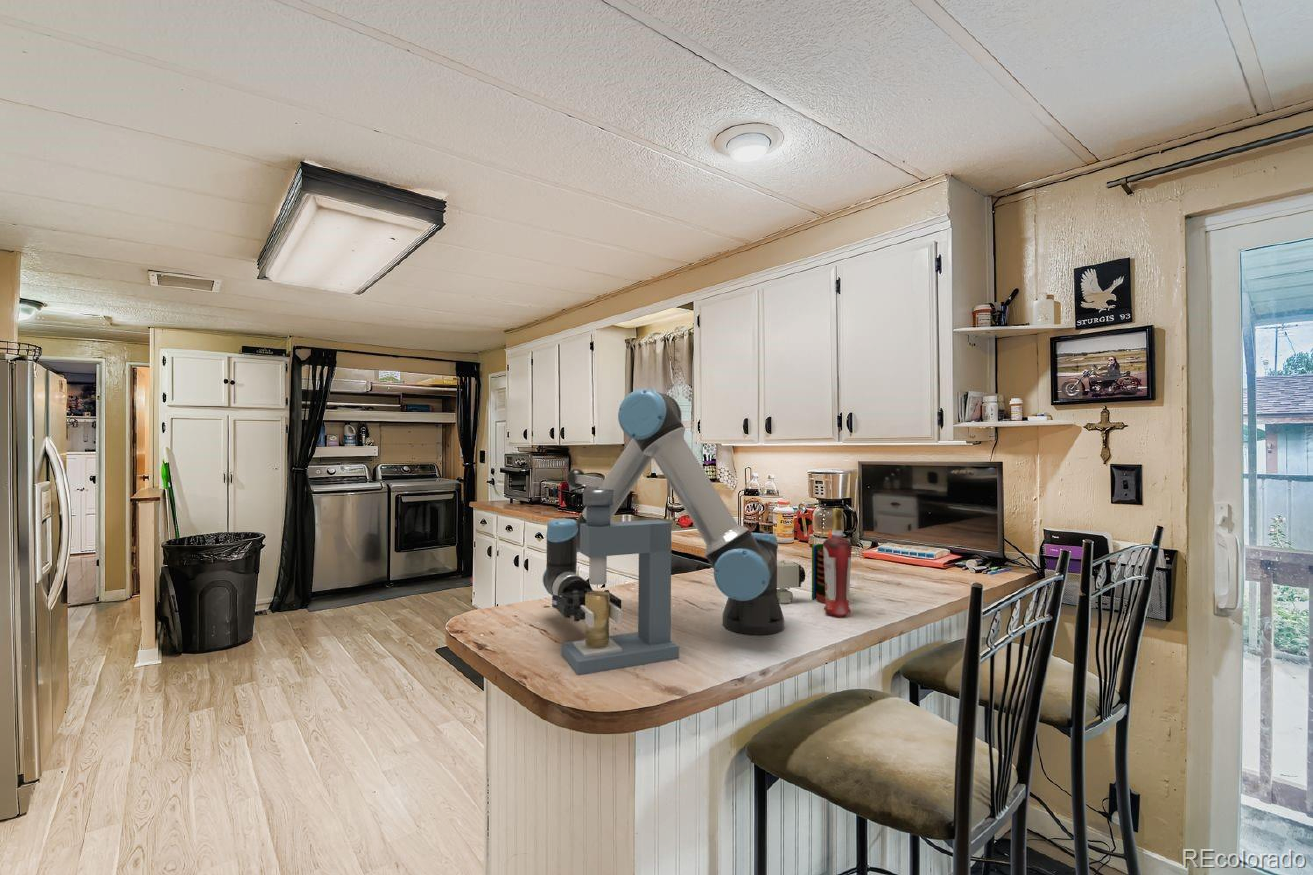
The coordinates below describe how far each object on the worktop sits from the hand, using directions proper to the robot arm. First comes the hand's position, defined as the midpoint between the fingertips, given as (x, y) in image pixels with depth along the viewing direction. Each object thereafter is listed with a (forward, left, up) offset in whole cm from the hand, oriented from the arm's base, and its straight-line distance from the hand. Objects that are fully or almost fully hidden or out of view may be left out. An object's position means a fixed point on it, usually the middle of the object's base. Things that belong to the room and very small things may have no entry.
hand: (606, 618), depth 116 cm
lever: (+6, -11, +22) cm, 26 cm away
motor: (-55, -58, -10) cm, 80 cm away
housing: (+3, -5, -6) cm, 8 cm away
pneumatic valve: (-41, -55, -10) cm, 69 cm away
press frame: (-2, -7, -10) cm, 12 cm away
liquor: (-54, -44, -10) cm, 70 cm away
